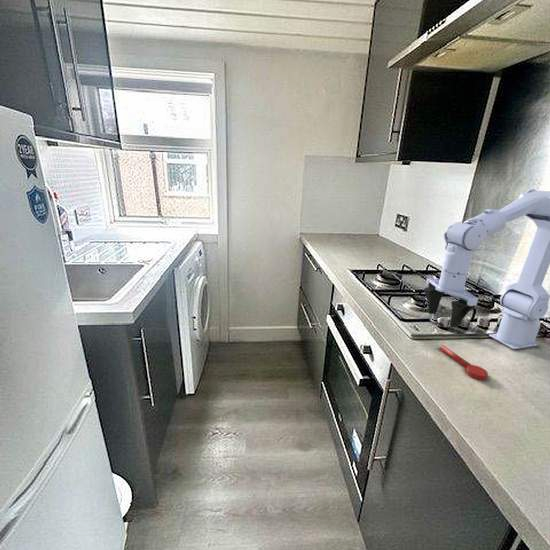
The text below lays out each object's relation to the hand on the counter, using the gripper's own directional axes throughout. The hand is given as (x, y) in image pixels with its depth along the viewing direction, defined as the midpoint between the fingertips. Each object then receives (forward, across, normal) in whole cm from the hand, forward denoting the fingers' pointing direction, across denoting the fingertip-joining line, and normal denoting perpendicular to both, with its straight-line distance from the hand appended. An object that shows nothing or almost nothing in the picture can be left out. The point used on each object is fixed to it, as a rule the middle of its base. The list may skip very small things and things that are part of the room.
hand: (442, 319), depth 80 cm
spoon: (+10, +6, +3) cm, 12 cm away
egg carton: (+10, -16, +18) cm, 26 cm away
